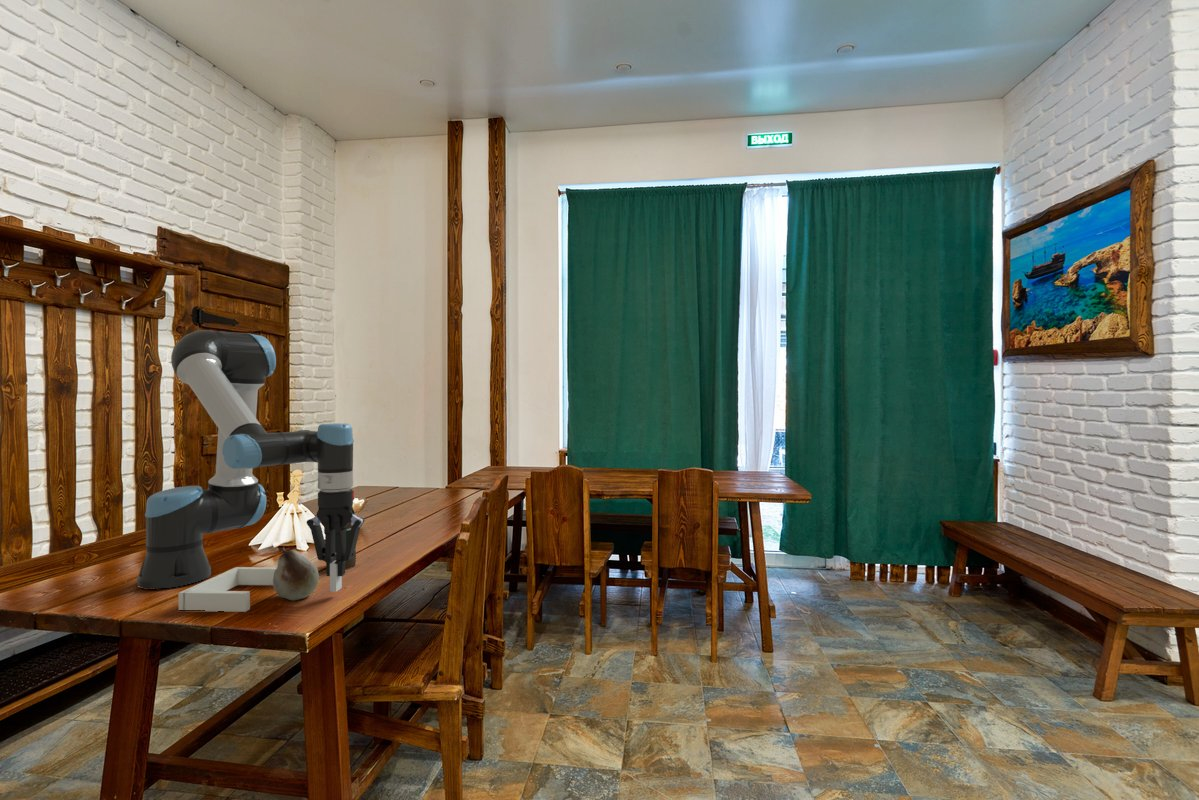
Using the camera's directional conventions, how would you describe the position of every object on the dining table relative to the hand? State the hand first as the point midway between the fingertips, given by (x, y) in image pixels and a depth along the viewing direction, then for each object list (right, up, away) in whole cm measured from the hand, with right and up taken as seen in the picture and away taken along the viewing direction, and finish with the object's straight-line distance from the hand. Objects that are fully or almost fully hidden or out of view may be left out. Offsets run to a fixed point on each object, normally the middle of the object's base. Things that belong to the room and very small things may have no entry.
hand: (335, 589), depth 134 cm
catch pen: (-22, -2, +1) cm, 22 cm away
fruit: (-9, -2, 0) cm, 10 cm away
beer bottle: (-10, -2, +24) cm, 26 cm away
